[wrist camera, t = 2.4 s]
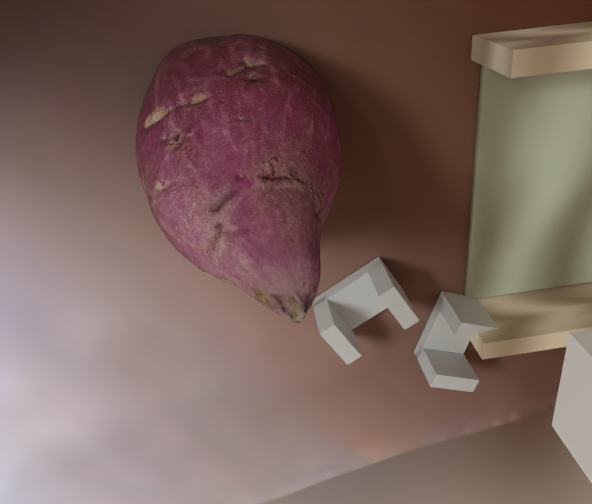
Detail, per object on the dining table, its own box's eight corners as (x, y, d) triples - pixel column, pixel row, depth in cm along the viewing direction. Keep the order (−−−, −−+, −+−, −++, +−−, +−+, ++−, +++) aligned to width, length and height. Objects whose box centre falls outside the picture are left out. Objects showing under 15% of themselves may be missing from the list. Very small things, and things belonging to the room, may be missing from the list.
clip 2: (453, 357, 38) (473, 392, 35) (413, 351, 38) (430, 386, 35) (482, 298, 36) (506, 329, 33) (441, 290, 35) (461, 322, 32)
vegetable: (342, 141, 33) (496, 306, 22) (198, 236, 34) (279, 443, 23) (261, -23, 26) (428, 98, 15) (79, 99, 26) (113, 305, 15)
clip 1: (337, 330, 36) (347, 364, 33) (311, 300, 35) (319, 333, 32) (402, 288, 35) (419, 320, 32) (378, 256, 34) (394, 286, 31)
